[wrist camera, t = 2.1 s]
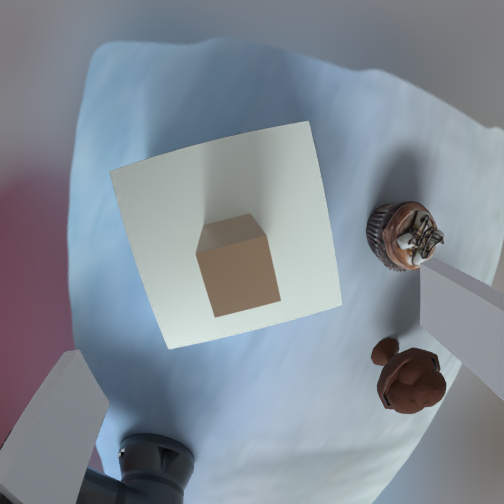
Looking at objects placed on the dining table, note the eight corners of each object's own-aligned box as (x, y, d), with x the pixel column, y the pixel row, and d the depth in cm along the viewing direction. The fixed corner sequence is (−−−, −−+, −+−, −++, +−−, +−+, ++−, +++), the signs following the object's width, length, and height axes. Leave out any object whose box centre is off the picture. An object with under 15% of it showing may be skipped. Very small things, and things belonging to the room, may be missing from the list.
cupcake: (348, 243, 42) (382, 264, 32) (381, 184, 40) (423, 190, 30) (393, 273, 44) (431, 297, 34) (424, 219, 42) (466, 232, 32)
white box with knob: (182, 295, 41) (154, 413, 19) (145, 170, 36) (59, 173, 15) (305, 264, 42) (384, 354, 20) (278, 137, 37) (352, 98, 15)
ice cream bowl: (376, 317, 45) (427, 368, 31) (420, 332, 47) (470, 377, 33) (345, 371, 47) (381, 431, 33) (391, 380, 50) (430, 431, 35)
